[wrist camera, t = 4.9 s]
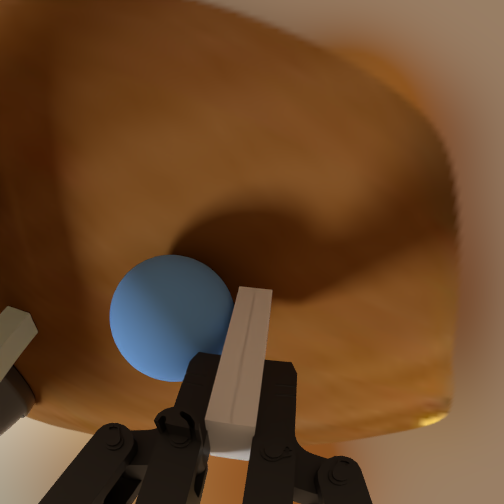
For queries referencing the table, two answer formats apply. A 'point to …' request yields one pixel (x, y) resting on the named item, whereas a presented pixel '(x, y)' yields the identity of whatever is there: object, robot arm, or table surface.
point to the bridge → (14, 336)
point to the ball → (169, 315)
